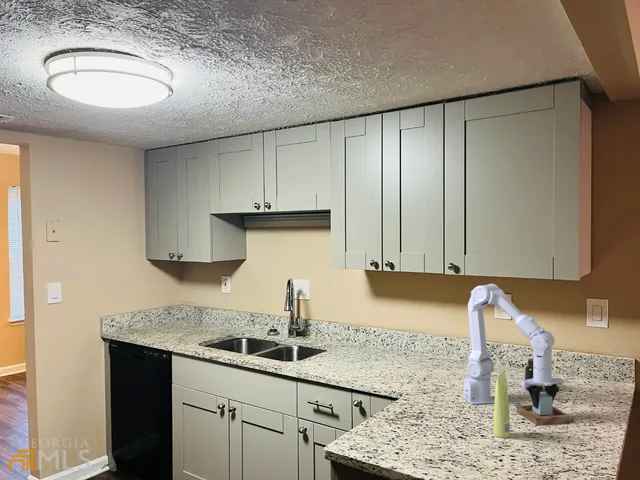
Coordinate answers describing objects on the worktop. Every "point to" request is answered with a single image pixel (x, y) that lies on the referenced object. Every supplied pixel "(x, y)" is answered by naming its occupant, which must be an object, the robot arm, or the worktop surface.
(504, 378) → the tube
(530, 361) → the supplement bottle
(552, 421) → the tray
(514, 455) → the worktop surface
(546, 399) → the block
